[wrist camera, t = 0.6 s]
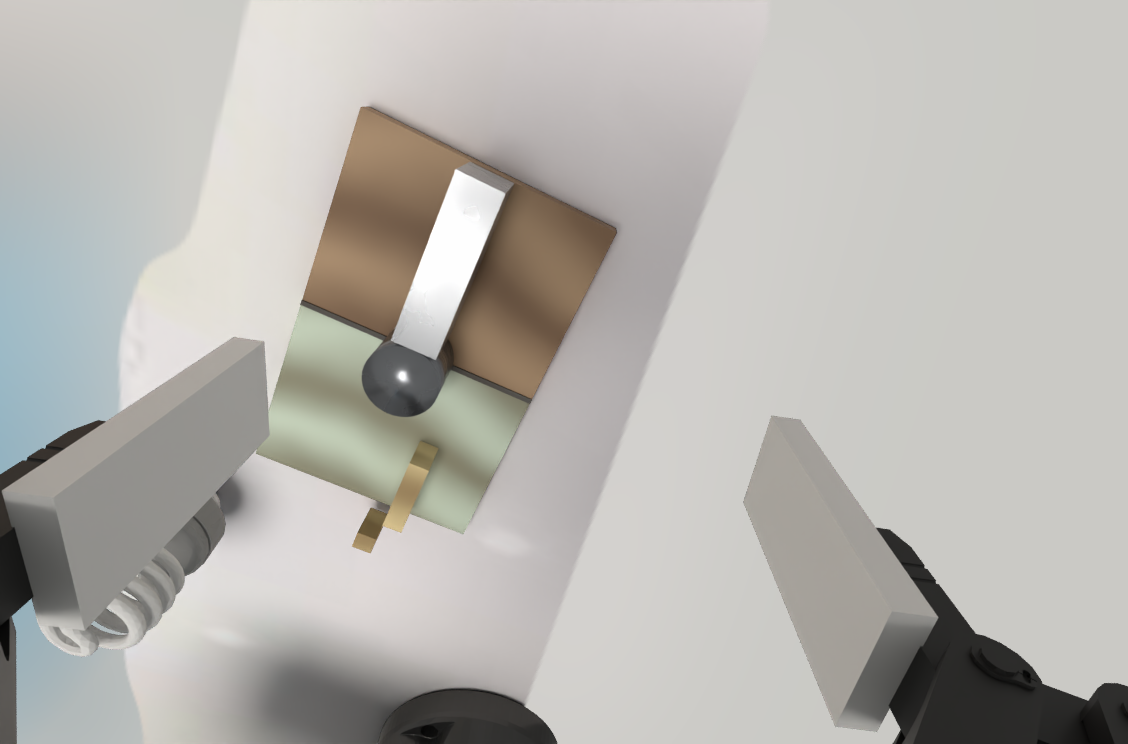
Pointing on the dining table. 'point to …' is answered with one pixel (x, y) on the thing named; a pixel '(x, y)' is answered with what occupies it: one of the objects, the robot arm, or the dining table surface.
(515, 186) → the door board
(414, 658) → the dining table surface
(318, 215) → the dining table surface
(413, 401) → the bar
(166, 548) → the light bulb
